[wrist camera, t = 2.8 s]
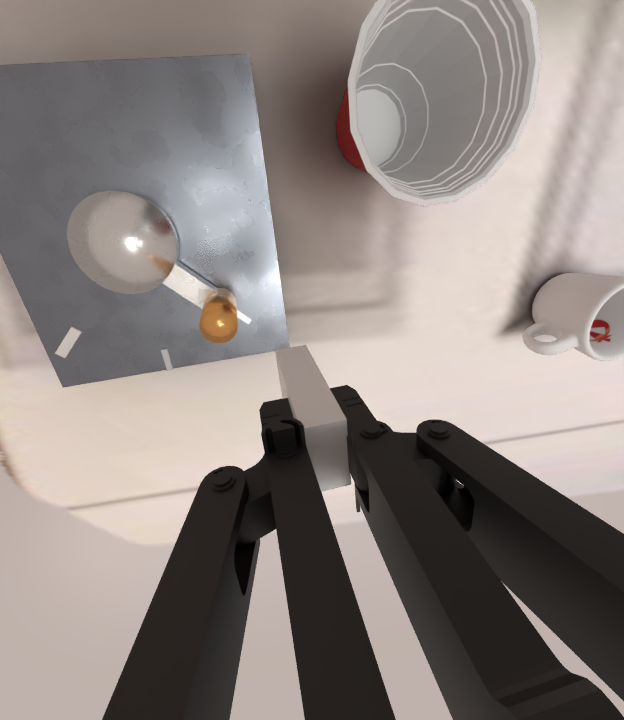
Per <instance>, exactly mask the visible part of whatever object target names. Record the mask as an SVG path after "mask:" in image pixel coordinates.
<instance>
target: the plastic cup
mask: <svg viewBox="0 0 624 720" xmlns="http://www.w3.org/2000/svg"><path fill="white" fill-rule="evenodd" d="M541 59H542V56H541V48H540V40H539V32H538V25H537V17H536V9H535V7H534V5H533V3H532V1H531V0H377V1H376V3H375V5H374V6H373V8H372V9H371V11H370V12H369V14H368V16H367V17H366V19H365V20H364V22H363V23H362V25H361V29H360V33H359V37H358V41H357V45H356V49H355V53H354V57H353V61H352V65H351V69H350V73H349V77H348V86H347V88H346V91H345V93H344V97H343V101H342V103H341V106H340V109H339V113H338V117H337V121H336V132H337V142H338V144H339V147H340V149H341V151H342V153H343V156H344V157H345V158H346V159H347V160H348V161H349V162H350V163H351V164H352V165H353V166H354V167H356V168H359V169H362V170H363V171H366V172H368V173H369V174H370V175H371V176H373V177H374V178H375V179H376V180H377V181H378V182H379V183H380V184H381V185H382V186H383V187H384V188H385V189H386V190H387V191H388V192H389V193H390V194H391V195H392V196H393V197H396V198H399V199H402V200H405V201H408V202H411V203H414V204H417V205H421V206H429V205H435V204H442V203H448V202H454V201H457V200H459V199H460V198H462V197H464V196H465V195H467V194H468V193H470V192H472V191H473V190H475V189H477V188H478V187H480V186H481V185H483V184H485V183H486V182H488V180H489V179H490V178H491V177H492V176H493V174H494V173H495V172H496V171H497V170H498V168H499V167H500V166H501V165H502V164H503V163H504V161H505V160H506V159H507V158H508V157H509V155H510V154H511V153H512V152H513V151H514V149H515V147H516V145H517V143H518V140H519V138H520V136H521V134H522V132H523V129H524V127H525V125H526V123H527V120H528V118H529V116H530V114H531V112H532V109H533V107H534V102H535V96H536V89H537V83H538V77H539V71H540V65H541Z"/></svg>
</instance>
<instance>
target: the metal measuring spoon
mask: <svg viewBox="0 0 624 720" xmlns="http://www.w3.org/2000/svg"><path fill="white" fill-rule="evenodd" d="M67 240H68V245H69V249H70V252H71V254H72V256H73V258H74V260H75V262H76V263H77V265H78V266H79V267H80V269H81V270H82V271H83V272H84V273H85V274H86V275H87V276H88V277H89V278H90V279H91V280H93V281H94V282H95V283H97V284H98V285H100V286H102V287H104V288H106V289H109V290H111V291H114V292H118V293H124V294H139V293H144V292H147V291H150V290H152V289H154V288H156V287H157V286H159V285H160V284H162V283H163V284H164V285H166V286H167V287H169V288H171V289H172V290H174V291H175V292H177V293H178V294H180V295H181V296H183V297H184V298H186V299H188V300H189V301H191V302H192V303H194V304H195V305H197V306H198V307H200V308H201V309H203V311H202V315H201V318H200V322H199V327H200V331H201V333H202V335H203V336H204V337H205V338H206V339H207V340H209V341H211V342H214V343H225V342H228V341H230V340H231V339H232V338H233V337H234V336H235V335H236V333H237V330H238V319H237V302H236V298H235V296H234V295H233V293H232V292H230V291H229V290H227V289H224V288H217V287H215V286H214V285H212V284H211V283H209V282H208V281H206V280H205V279H203V278H202V277H201V276H199V275H198V274H196V273H195V272H193V271H192V270H190V269H189V268H187V267H186V266H184V265H183V264H182V263H180V262H179V261H178V256H179V240H178V236H177V233H176V230H175V228H174V225H173V224H172V222H171V220H170V219H169V217H168V216H167V215H166V213H165V212H164V211H163V210H162V209H161V208H160V207H158V206H157V205H156V204H155V203H153V202H152V201H150V200H149V199H147V198H145V197H143V196H140V195H137V194H134V193H130V192H121V191H103V192H98V193H95V194H92V195H90V196H88V197H86V198H85V199H83V200H82V201H81V202H80V203H79V204H78V205H77V206H76V207H75V209H74V210H73V212H72V214H71V216H70V218H69V222H68V226H67Z"/></svg>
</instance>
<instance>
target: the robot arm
mask: <svg viewBox="0 0 624 720" xmlns="http://www.w3.org/2000/svg"><path fill="white" fill-rule="evenodd" d="M275 353H276V359H277V366H278V372H279V378H280V385H281V391H282V397H283V399H278V400H273V401H268V402H263V404H262V406H261V408H260V410H259V411H260V418H261V424H262V433H261V436H262V441H263V446H264V451H265V454H264V456H263V458H262V459H261V460H260V461H259V462H258V463H257V464H256V465H255V466H253V467H251V468H249V469H247V470H245V471H243V470H242V469H240V468H238V467H236V466H225V467H220V468H218V469H216V470H213V471H212V472H210V473H209V474H208V475H207V476H205V478H204V479H203V481H202V482H201V484H200V486H199V489H198V491H197V493H196V496H195V498H194V501H193V503H192V505H191V508H190V510H189V513H188V515H187V517H186V520H185V522H184V525H183V527H182V529H181V532H180V534H179V537H178V539H177V541H176V544H175V546H174V549H173V551H172V553H171V556H170V558H169V561H168V563H167V565H166V568H165V570H164V573H163V575H162V577H161V580H160V582H159V585H158V587H157V589H156V592H155V594H154V597H153V599H152V601H151V604H150V606H149V609H148V611H147V613H146V616H145V618H144V621H143V623H142V626H141V628H140V630H139V633H138V635H137V637H136V640H135V642H134V645H133V647H132V650H131V652H130V654H129V657H128V659H127V661H126V664H125V666H124V669H123V671H122V674H121V676H120V678H119V680H118V683H117V685H116V688H115V690H114V693H113V695H112V697H111V700H110V702H109V704H108V707H107V709H106V712H105V714H104V716H103V719H102V720H229V719H230V713H231V707H232V702H233V696H234V690H235V684H236V679H237V673H238V667H239V661H240V655H241V650H242V644H243V638H244V632H245V627H246V621H247V615H248V610H249V604H250V597H251V592H252V586H253V581H254V575H255V569H256V564H257V558H258V552H259V546H260V538H261V537H263V536H264V535H266V534H268V533H270V532H271V531H273V530H275V529H277V536H278V542H279V549H280V556H281V563H282V569H283V576H284V582H285V589H286V596H287V603H288V609H289V616H290V623H291V629H292V636H293V643H294V650H295V656H296V663H297V670H298V676H299V683H300V690H301V696H302V703H303V710H304V716H305V720H396V719H395V716H394V713H393V710H392V707H391V704H390V701H389V698H388V695H387V692H386V689H385V686H384V683H383V680H382V677H381V674H380V671H379V668H378V664H377V661H376V658H375V655H374V652H373V649H372V646H371V643H370V640H369V637H368V634H367V631H366V628H365V624H364V621H363V618H362V615H361V612H360V609H359V606H358V603H357V600H356V597H355V594H354V591H353V588H352V585H351V582H350V579H349V576H348V572H347V569H346V566H345V563H344V560H343V557H342V554H341V551H340V548H339V545H338V542H337V539H336V536H335V533H334V529H333V526H332V523H331V520H330V517H329V514H328V511H327V508H326V505H325V502H324V499H323V496H322V493H321V491H326V490H330V489H334V488H338V487H342V486H346V485H350V484H351V476H352V478H353V480H354V482H355V497H356V509H357V512H360V506H361V508H362V511H363V513H364V515H365V518H366V520H367V522H368V525H369V527H370V529H371V531H372V534H373V536H374V538H375V541H376V543H377V545H378V548H379V550H380V552H381V554H382V557H383V559H384V561H385V564H386V566H387V568H388V571H389V573H390V575H391V577H392V580H393V582H394V585H395V587H396V589H397V591H398V594H399V596H400V598H401V601H402V603H403V605H404V607H405V610H406V612H407V614H408V617H409V619H410V621H411V624H412V626H413V628H414V631H415V633H416V635H417V638H418V640H419V642H420V644H421V647H422V649H423V651H424V654H425V656H426V658H427V661H428V663H429V665H430V668H431V670H432V672H433V674H434V677H435V679H436V681H437V684H438V686H439V688H440V691H441V693H442V695H443V697H444V700H445V702H446V704H447V706H448V709H449V711H450V714H451V716H452V718H453V720H624V717H623V716H622V714H621V713H620V712H619V711H618V709H617V708H616V707H615V706H614V704H613V703H612V702H611V701H610V700H609V699H608V698H607V696H606V695H605V694H604V693H603V692H602V691H601V690H600V689H599V688H598V687H597V686H596V685H594V684H593V683H592V682H591V681H589V680H588V679H587V678H584V677H581V676H579V675H576V674H573V673H571V672H569V671H568V670H567V669H566V668H565V667H564V666H562V664H561V663H560V662H559V660H558V659H557V658H556V657H555V655H554V654H553V652H552V651H551V650H550V648H549V647H548V646H547V645H546V643H545V642H544V640H543V639H542V637H541V636H540V634H539V633H538V632H537V630H536V629H535V628H534V626H533V625H532V623H531V622H530V621H529V619H528V618H527V617H526V615H525V614H524V612H523V611H522V610H521V608H520V607H519V605H518V604H517V603H516V601H515V600H514V599H513V597H512V596H511V594H510V593H509V591H508V590H507V589H506V587H505V586H504V585H503V583H504V584H505V585H506V586H507V587H508V588H509V589H510V590H511V591H512V592H513V593H514V594H515V595H516V596H517V597H518V598H519V599H520V600H521V601H522V602H523V603H524V604H525V605H526V606H527V607H528V608H529V609H530V610H531V611H532V612H533V613H534V614H535V615H536V616H537V617H539V619H541V621H543V622H544V623H545V624H546V625H547V626H548V627H549V628H550V629H551V630H552V631H553V632H554V633H555V634H556V635H557V636H558V637H559V638H560V639H561V640H562V641H563V642H564V643H565V644H566V645H567V646H568V647H569V648H570V649H571V650H572V651H573V652H574V653H575V654H576V655H577V656H578V657H579V658H580V659H581V660H582V661H584V663H586V665H587V666H588V667H589V668H590V669H592V671H594V673H596V674H597V675H598V676H599V677H600V678H601V679H602V680H603V681H604V682H605V683H606V684H607V685H608V686H609V687H610V688H611V689H612V690H613V691H614V692H615V693H616V694H617V695H618V696H619V697H620V698H621V699H622V700H623V701H624V534H623V533H621V532H620V531H618V530H617V529H615V528H614V527H612V526H611V525H609V524H607V523H606V522H604V521H603V520H601V519H600V518H598V517H596V516H595V515H593V514H592V513H590V512H589V511H587V510H586V509H584V508H582V507H581V506H579V505H578V504H576V503H575V502H573V501H572V500H570V499H568V498H567V497H565V496H564V495H562V494H561V493H559V492H558V491H556V490H554V489H553V488H551V487H550V486H548V485H547V484H545V483H544V482H542V481H540V480H539V479H537V478H536V477H534V476H533V475H531V474H530V473H528V472H526V471H525V470H523V469H522V468H520V467H519V466H517V465H516V464H514V463H512V462H511V461H509V460H508V459H506V458H505V457H503V456H502V455H500V454H498V453H497V452H495V451H494V450H492V449H491V448H489V447H488V446H486V445H484V444H483V443H481V442H480V441H478V440H477V439H475V438H474V437H472V436H470V435H469V434H467V433H466V432H464V431H463V430H461V429H460V428H458V427H456V426H455V425H453V424H451V423H449V422H447V421H442V420H427V421H424V422H422V423H421V424H419V425H418V427H417V432H416V433H400V432H393V431H392V429H391V428H390V427H389V426H388V425H387V424H385V423H383V422H380V421H377V420H376V419H375V418H374V416H373V415H372V413H371V412H370V410H369V409H368V407H367V406H366V404H365V403H364V401H363V400H362V399H361V398H360V396H359V394H358V393H357V391H356V390H355V389H353V388H351V387H349V386H348V385H345V386H340V387H335V388H329V386H328V385H327V383H326V381H325V379H324V377H323V375H322V374H321V372H320V370H319V368H318V366H317V365H316V363H315V361H314V359H313V357H312V356H311V354H310V352H309V350H308V348H307V346H306V345H303V346H297V347H292V348H286V349H280V350H275ZM350 473H351V476H350ZM456 480H458V481H459V482H460V483H461V484H463V485H464V486H463V485H461V484H460V483H459V482H457V481H456ZM501 581H502V582H503V583H502V582H501Z"/></svg>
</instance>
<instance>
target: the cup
mask: <svg viewBox="0 0 624 720" xmlns="http://www.w3.org/2000/svg"><path fill="white" fill-rule="evenodd" d="M532 316H533V319H534V321H535V324H533V325H532V326H530V327H529V328H527V329H526V330H525V331H524V333H523V341H524V343H525V345H526V346H527V347H528V348H529V349H530V350H532V351H534V352H536V353H538V354H542V355H556V354H559V353H562V352H565V351H567V350H569V349H571V348H575V349H577V350H578V351H580V352H582V353H584V354H585V355H587V356H589V357H591V358H593V359H596V360H600V361H609V360H614V359H617V358H620V357H622V356H624V277H623V276H611V275H599V274H587V273H565V274H561V275H558V276H556V277H554V278H552V279H550V280H549V281H548V282H546V283H545V284H544V285H543V286H542V287H541V289H540V290H539V291H538V293H537V295H536V296H535V299H534V301H533V305H532ZM544 334H546V335H552V336H553V337H555V338H557V340H555V341H552V342H540V341H537V340H535V339H533V338H534V337H536V336H538V335H544Z"/></svg>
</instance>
